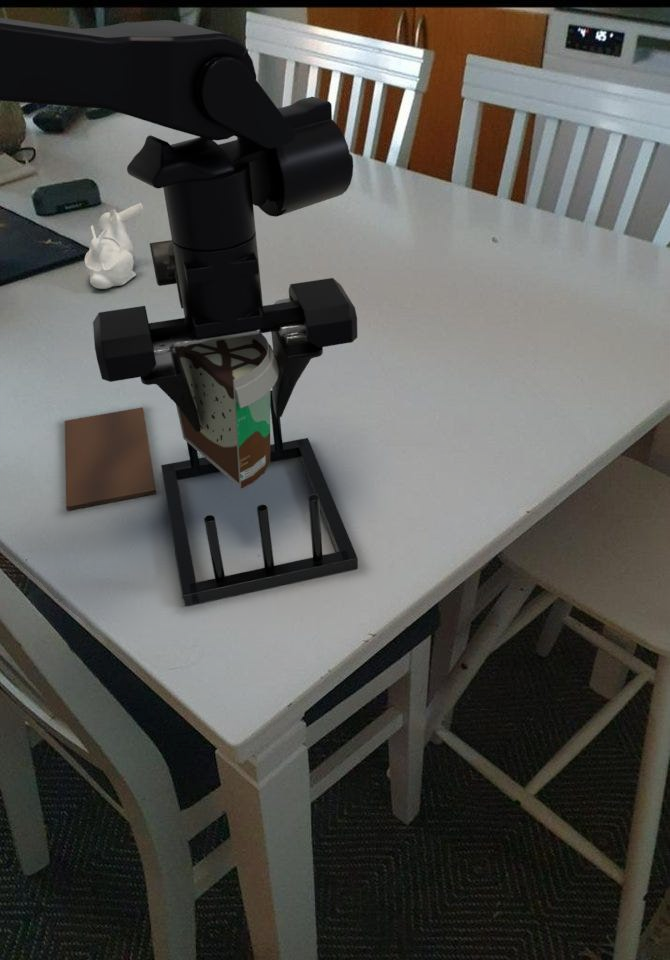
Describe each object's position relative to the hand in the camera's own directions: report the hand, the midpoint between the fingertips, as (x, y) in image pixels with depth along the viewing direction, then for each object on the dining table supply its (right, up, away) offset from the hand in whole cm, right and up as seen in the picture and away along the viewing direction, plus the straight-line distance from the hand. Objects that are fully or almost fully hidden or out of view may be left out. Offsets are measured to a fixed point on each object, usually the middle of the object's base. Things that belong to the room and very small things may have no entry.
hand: (238, 421), depth 65 cm
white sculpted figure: (-21, +23, +46) cm, 55 cm away
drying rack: (+1, -8, +7) cm, 10 cm away
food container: (0, -2, +3) cm, 3 cm away
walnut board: (-14, -2, +14) cm, 20 cm away
